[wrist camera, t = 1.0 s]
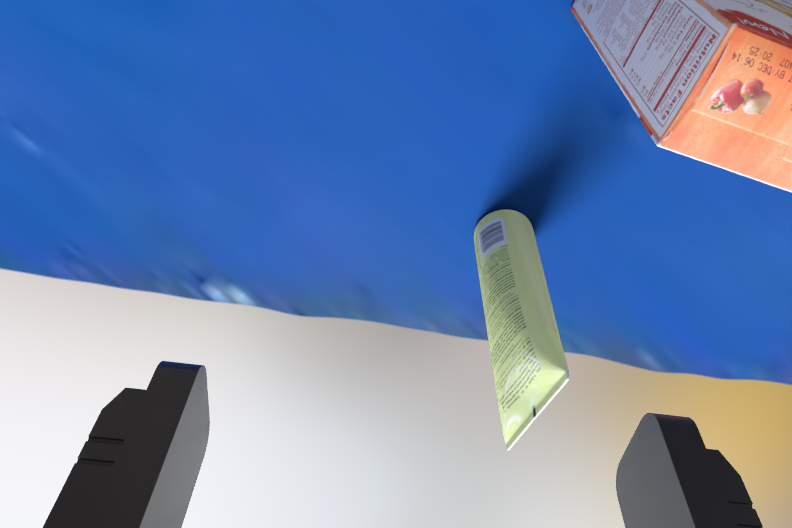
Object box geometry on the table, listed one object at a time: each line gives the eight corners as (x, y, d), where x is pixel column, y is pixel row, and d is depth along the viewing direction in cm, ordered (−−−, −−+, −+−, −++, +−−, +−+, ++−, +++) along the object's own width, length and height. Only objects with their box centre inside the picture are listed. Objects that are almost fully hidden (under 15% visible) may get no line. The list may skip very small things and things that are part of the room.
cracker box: (800, -8, 44) (1034, 134, 28) (743, 75, 48) (920, 247, 31) (611, -86, 42) (741, 19, 25) (565, 8, 45) (653, 156, 29)
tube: (540, 253, 57) (586, 438, 42) (482, 268, 59) (506, 453, 43) (525, 199, 54) (570, 377, 39) (465, 215, 55) (484, 395, 40)
